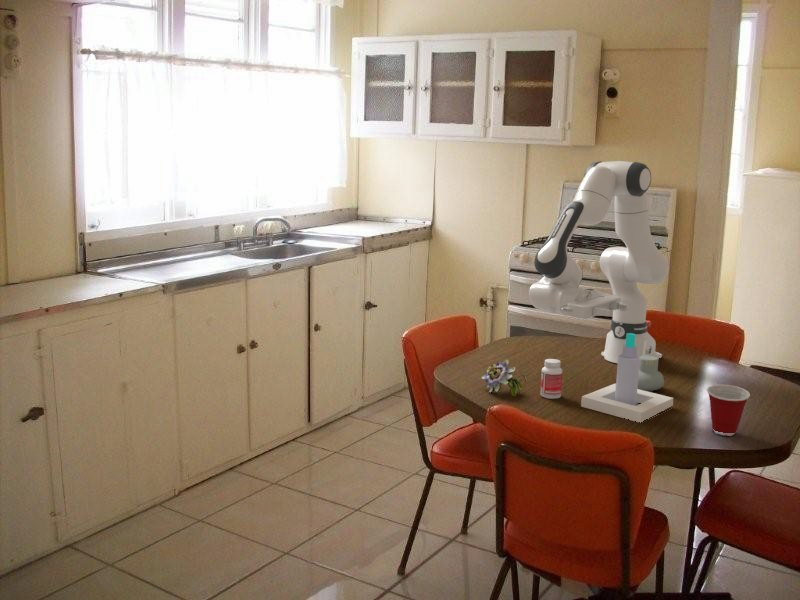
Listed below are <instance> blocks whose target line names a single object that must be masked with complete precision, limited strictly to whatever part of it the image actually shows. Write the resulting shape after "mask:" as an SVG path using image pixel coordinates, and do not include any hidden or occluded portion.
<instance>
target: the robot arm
mask: <svg viewBox="0 0 800 600" xmlns="http://www.w3.org/2000/svg"><path fill="white" fill-rule="evenodd" d="M651 182H652V172H651V170H650V168H649V167H648V165H646V164H645V163H642V162H638V161H635V162H632V161H626V160H625V161H623V160H615V161H600V160H599V161H596V162H593V163H590V164H589V165H588V166H587V167H586V169H585V170H584V173H583V179H582V181H581V182H580V183H579V186H578V188H577V190H576V193H575V196H574V197H573V199H572V201H571V202H568V203H567V204H566V205H565V207H564V208H563V209H562V211H561V213H560V215H559V216H558V219H557V221H556V222H555V224H554V226H553V228H552V229H551V232H550V233H549V236H548V237H547V238H546V240H545V241H544V243H543V244H542V246H540V248H539V249H538V250H537V252H536V253H535V257H534V261H533V262H534V267H535V270H536V271H537V272H538V273H539V274H540V275H542V276H543V277H542V278H541V279H540V280H538V281H536V282H534V283H532V284H531V285H530V287H529V290H528V299H529V301H530V303H531V305H532V306H533V307H534V308H535V309H537V310H540V311H543V312H548V313H551V314H561V315H563V316H566V317H570V318H576V319H590V318H593V317H596V316H597V317H598V316H602V317H603V316H604V317H611V316H612V318H611V320H610V331H609V332H608V333H607V334H606V340H605V345H604V350H603V351H601V353H600V355H601V356H602V357H604V360H606V361H608V362H611V363H615V364H618V356H619V355H620V354H622V350H623V345H625V344H626V334H627V333H633V334H635V346H637V356H639V357H640V356H644V355H647V356H654V357H657V358H658V360H660V359H661V358H662V357H663V353H660V352H657V351H656V349H657V348H656V345H657V344H656V343H657V342H656V340H655V338H654V337H653V336H651V334H650V333H649V332H648V327H651V325H652V320H646V319H647V318H646V317H647V309H648V308H647V307H648V301H647V300H648V299H647V297H646V296H645V295H644V294H643V293H642V292H641V291H640V288H639V286H638V284H642V285H643V284H644V285H655V284H656V285H658V284H661V283H662V282H664V280H666V278H667V276H668V274H669V272H670V265H669V262H668V259H667V258H666V257H665V256H664V255H663V254H662V253H661V252H660V250H659V249H658V247H657V245H656V244H655V242H654V239H653V236H652V233H651V227H650V211H649V198H648V190H649V188H650V186H651ZM613 196H614V203H613V204H614V205H613V206H614V207H613V208H614V230H615V234H616V236H617V237H618V238H619V239H620V240H621V241H622V242H623V243H624V244H625V246H614V247H613V246H612V247H607V248H605V249H604V250H603V252H601V255H600V257H599V267H600V270H601V272H602V273H603V274H604V275H605V277H606V278H607V280H608V282H609V285H610V287H611V292H612V294H611V293H606V292H603V291H602V292H601V291H598V290H597V289H595V288H581V287H580V284H581V282H582V280H583V276H584V275H583V269H582V268H581V266H580V264H578V263H577V261H576V260H574V259H573V258H572V256H570V254H569V252H568V244H569V242H570V241H571V238H572V236H573V234H574V232H575V231H576V229H577V227H578V226H580V225H581V226H596V225H597V224H599V223H602V221H603V220H604V219H605V217H606V215H607V214H608V211H609V209H610V205H611V203H612V199H613ZM637 283H638V284H637ZM659 358H660V359H659Z"/></svg>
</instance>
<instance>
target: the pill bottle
mask: <svg viewBox="0 0 800 600" xmlns="http://www.w3.org/2000/svg"><path fill="white" fill-rule="evenodd" d="M561 365H562V364H561V360H559V359H556V358H547V359H544V367H542V368H541V374H540V376H541V377H540V396H541V397H543V398H545V399H550V400H551V399H552V400H555V399H559V398H561V396H562V387H563V386H562V385H563V368H561Z"/></svg>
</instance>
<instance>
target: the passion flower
mask: <svg viewBox="0 0 800 600" xmlns="http://www.w3.org/2000/svg"><path fill="white" fill-rule="evenodd" d="M509 363H510V360H509V359H505V360H504V361H500V362H496V363H495V364H493V363H491V364H490V366H489V367H488V368H487V370H486V371H485V372H484V375H482V376H480V378H481V379H482V380H484V381H485V383H486V385H487V386H486V389H487V390H489V391H488V393H489V392H490V393H489V394H492V393H494V392H496V393H498V392H500V390H501V388H502V385H503V386H507V385H508V386H509V389H510V392H511V396H513V397H514V398H516V397H517V389H518V390H519V394H520V395H521V393H522V392H523V385H522V384H521V382H520V381H519V380H518V378H519V377H523V378H524V382H525V383H527V382H528V379H527V377H526V374H521V375H518V376H517V375H516V376H513V374H512V373H514V372H515V370H516V367H509ZM491 392H492V393H491Z"/></svg>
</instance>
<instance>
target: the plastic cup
mask: <svg viewBox="0 0 800 600" xmlns="http://www.w3.org/2000/svg"><path fill="white" fill-rule="evenodd" d="M706 391H707V393H708V398H709V406H710V417H711V418H710V419H711V426H712V427H711V428H713V429H714V430H715V431H718V432H723V433H735V432H736V431H738V428H739V424H740V422H741V418H742V415H743V412H744V410H745V406H746V404H747V401H748V399H749V398H750V396H751V394H750V391H749V390H746V389H745V388H742V387H739V386H737V385H730V384H722V383H721V384H713V385H709V386H707V389H706ZM713 429H712V430H713ZM736 433H737V432H736Z"/></svg>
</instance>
